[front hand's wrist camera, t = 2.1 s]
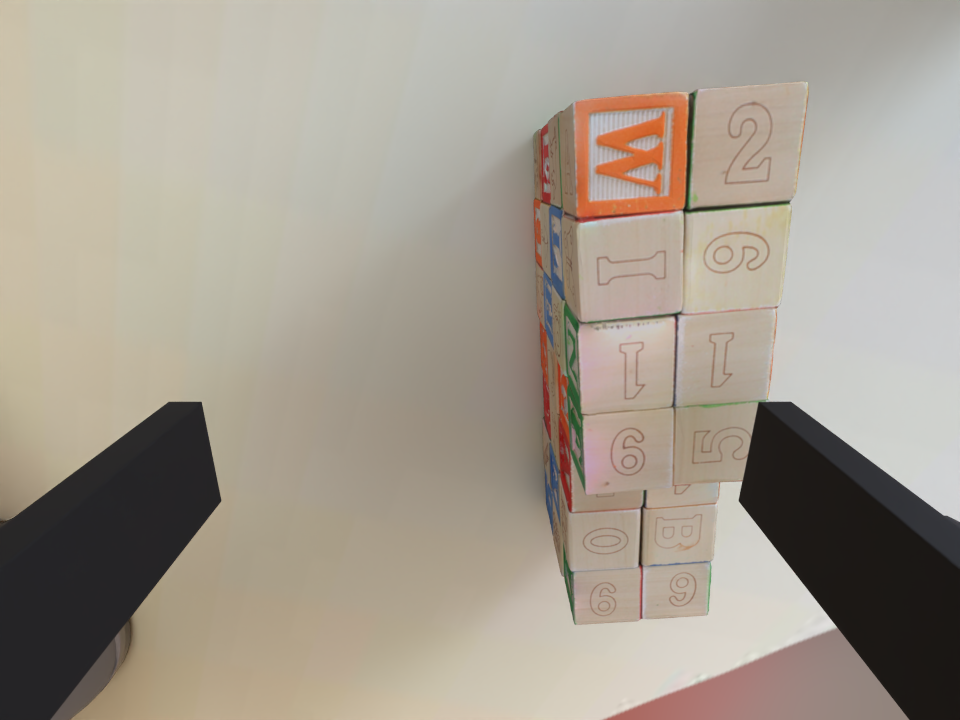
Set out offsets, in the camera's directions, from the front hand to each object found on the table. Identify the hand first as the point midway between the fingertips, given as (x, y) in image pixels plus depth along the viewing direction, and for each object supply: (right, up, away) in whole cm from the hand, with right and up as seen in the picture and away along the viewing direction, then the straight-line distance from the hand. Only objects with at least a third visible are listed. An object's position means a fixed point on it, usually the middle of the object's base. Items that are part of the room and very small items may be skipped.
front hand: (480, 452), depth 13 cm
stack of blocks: (+6, +3, +16) cm, 18 cm away
